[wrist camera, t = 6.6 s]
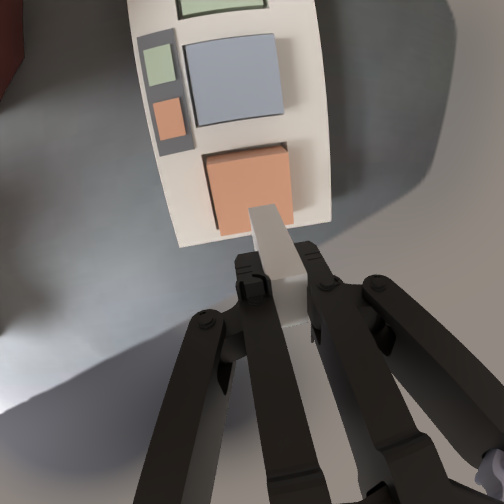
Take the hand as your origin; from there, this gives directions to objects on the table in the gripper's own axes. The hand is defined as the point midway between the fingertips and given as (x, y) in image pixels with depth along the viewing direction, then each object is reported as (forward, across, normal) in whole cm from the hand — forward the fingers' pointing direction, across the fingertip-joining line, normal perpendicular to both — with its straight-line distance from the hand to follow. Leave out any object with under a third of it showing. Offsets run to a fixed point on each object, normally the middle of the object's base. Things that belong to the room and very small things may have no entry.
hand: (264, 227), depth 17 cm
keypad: (+12, 0, +8) cm, 15 cm away
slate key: (+9, 0, +9) cm, 12 cm away
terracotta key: (+9, 0, -1) cm, 9 cm away
